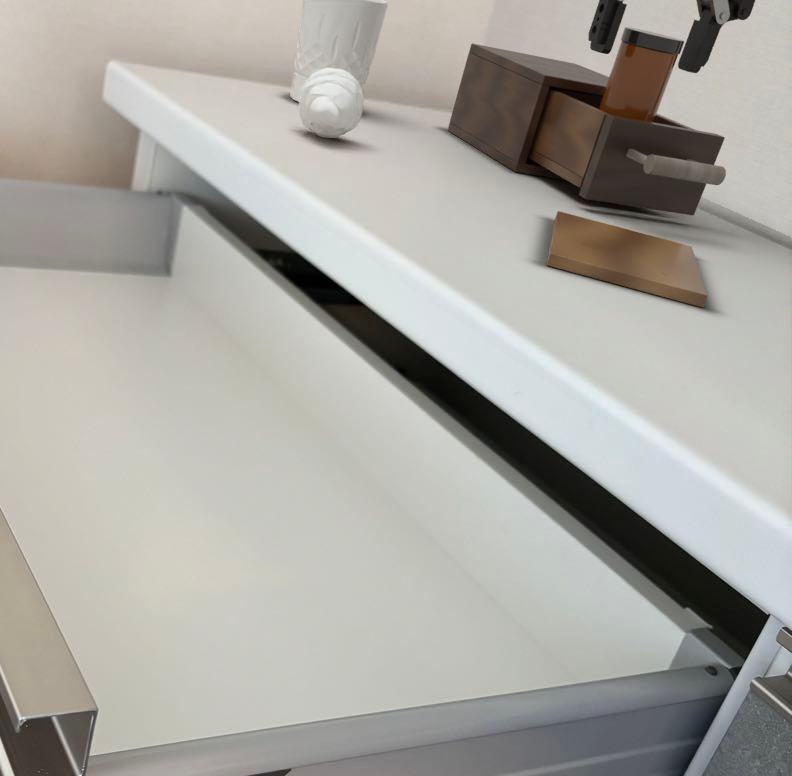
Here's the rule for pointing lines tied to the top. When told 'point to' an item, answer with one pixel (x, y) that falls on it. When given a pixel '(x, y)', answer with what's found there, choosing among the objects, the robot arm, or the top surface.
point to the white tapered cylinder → (337, 38)
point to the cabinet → (512, 102)
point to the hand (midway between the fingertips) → (644, 61)
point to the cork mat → (626, 258)
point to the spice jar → (640, 74)
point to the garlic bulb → (331, 102)
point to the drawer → (625, 154)
